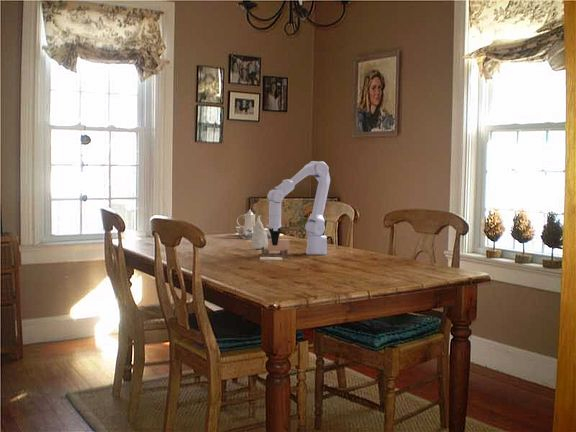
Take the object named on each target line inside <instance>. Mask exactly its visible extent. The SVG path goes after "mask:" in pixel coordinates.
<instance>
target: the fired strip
mask: <svg viewBox="0 0 576 432" xmlns="http://www.w3.org/2000/svg"><path fill="white" fill-rule="evenodd" d="M259 260H260V261H261V260H263V261H264V260H265V261H283V257H262V256H259Z"/></svg>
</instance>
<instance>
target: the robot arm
mask: <svg viewBox="0 0 576 432" xmlns="http://www.w3.org/2000/svg"><path fill="white" fill-rule="evenodd" d="M303 166H304V167H302V168H300V170H299V171H298V172H297V173H296V174H295V175H294V176H292V177H291V178H290V179H288V178H287V179H283V180H281V181H282V182H281V183H280V184H279V185H277V186H274V189H270V190H269V191H268V193H267V194H266V199H267V200H268V224H266V225H265V226H266V228H267V227H268V229H269V232H270V234H271V239H272V245H277V244H278V239H280V235H281V233H282V230H281V228H282V202H283V200H284V199H285V197H286V196H287V195H288V194H289V193H291V192H292V191H293V190H295V186H296V185H297V184H298V183H299V182H301V181H302V180H303V179H305V178H306V177H308V176H312V177H314V178H315V179H316V180H317V182H318V184H317V187H316V192H315V193H316V194H315V197H314V202H313V207H312V211H311V214H310V215H309V217H308V219H307V221H306V223H305V226H304V228H305V232H307V234H306V235H307V237H306V240H307V242H306V250H305V253H306V255H328V254H327V251H328V247H327V246H328V245H327V244H328V239H327V238H328V237H327V235H323V234H325V231H326V227H325V222H326V220H325V218H324V211H325V209H326V203H327V199H328V193H329V188H330V184H331V176H330V172H329V168H330V167H329V165H327V163H326V162H325V161H321V160H320V161H315V160H312V161H310V162H309V163H307V164H305V165H303ZM271 228H272V229H271Z"/></svg>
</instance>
